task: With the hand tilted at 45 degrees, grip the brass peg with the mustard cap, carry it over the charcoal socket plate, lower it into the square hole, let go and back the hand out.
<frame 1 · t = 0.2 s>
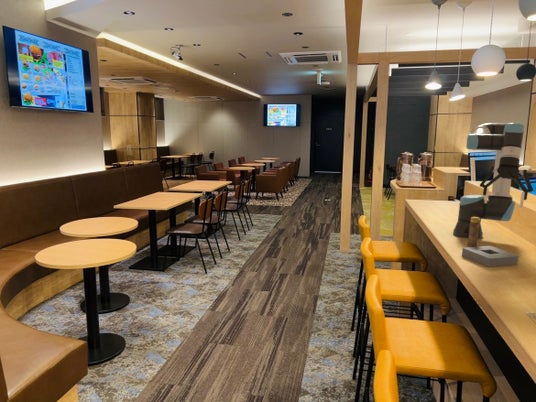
hand: (503, 205, 171), 27 cm above the table, tool tilted 15°, fingers open, 13 cm apart
socket plate: (488, 260, 181), on the table
brass peg: (471, 248, 198), on the table
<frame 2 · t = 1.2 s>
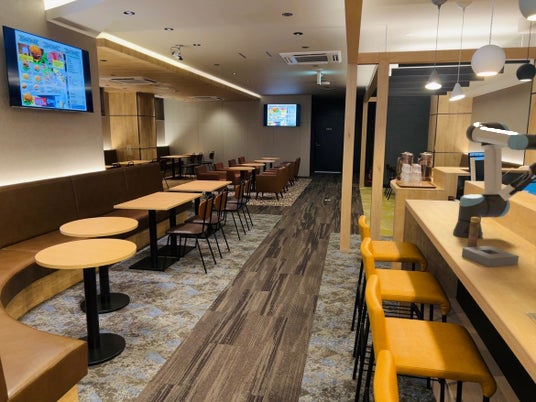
hand: (501, 196, 189), 28 cm above the table, tool tilted 45°, fingers open, 13 cm apart
nothing on the table moved.
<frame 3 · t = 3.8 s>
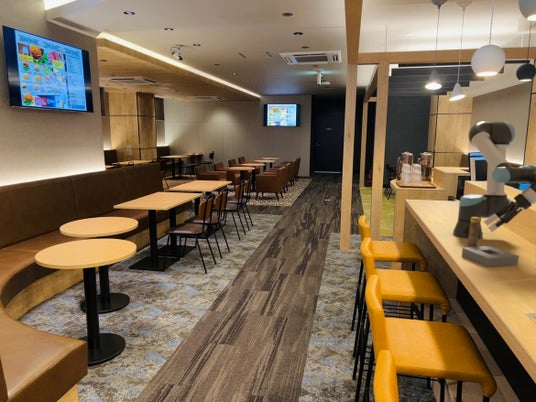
hand: (487, 226, 193), 12 cm above the table, tool tilted 45°, fingers open, 13 cm apart
nothing on the table moved.
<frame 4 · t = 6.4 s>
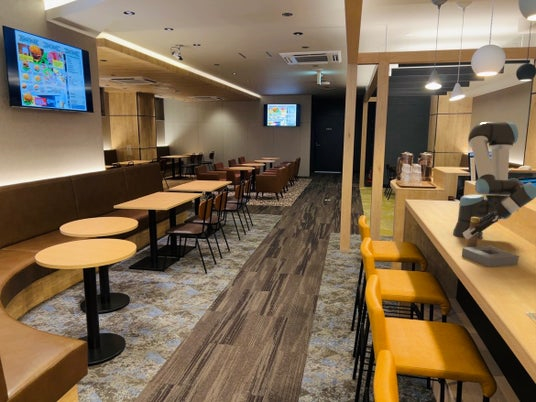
hand: (464, 236, 199), 6 cm above the table, tool tilted 45°, fingers closed on brass peg, 4 cm apart
brass peg: (471, 248, 198), on the table, touching gripper
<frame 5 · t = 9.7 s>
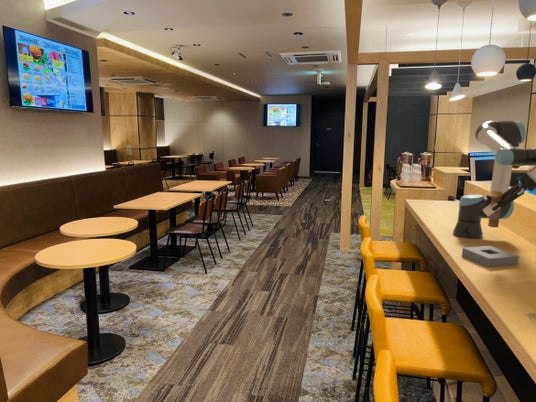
hand: (485, 213, 178), 22 cm above the table, tool tilted 45°, fingers closed on brass peg, 4 cm apart
brass peg: (493, 226, 178), point 16 cm above the table, touching gripper
when the fingers open (7 cm above the table, at t = 13.3 s): brass peg drops 1 cm, resting in socket plate.
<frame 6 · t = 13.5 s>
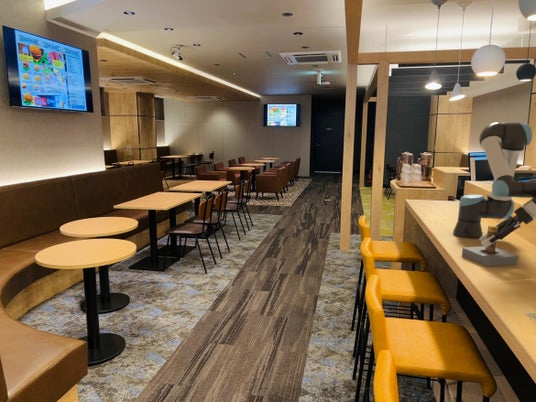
hand: (482, 243, 181), 8 cm above the table, tool tilted 45°, fingers open, 7 cm apart
brass peg: (488, 260, 181), resting in socket plate
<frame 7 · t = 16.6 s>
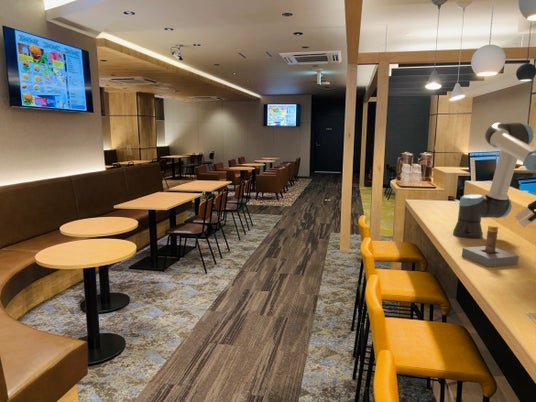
hand: (519, 221, 174), 19 cm above the table, tool tilted 45°, fingers open, 13 cm apart
nothing on the table moved.
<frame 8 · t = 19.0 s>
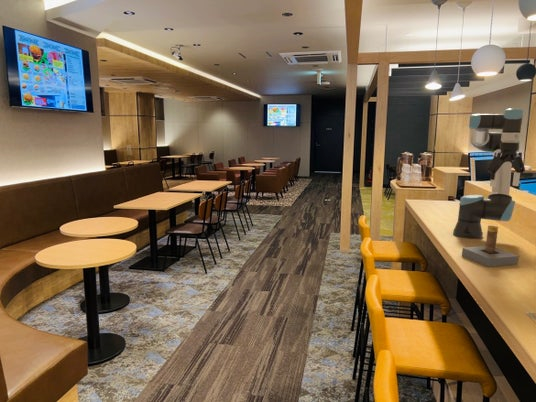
hand: (504, 186, 189), 33 cm above the table, tool pointing down, fingers open, 13 cm apart
nothing on the table moved.
at the end: brass peg 0.0 cm off-centre on the socket plate, point 0.0 cm above the socket plate's base; brass peg tilted 0°; the gripper is holding nothing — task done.
